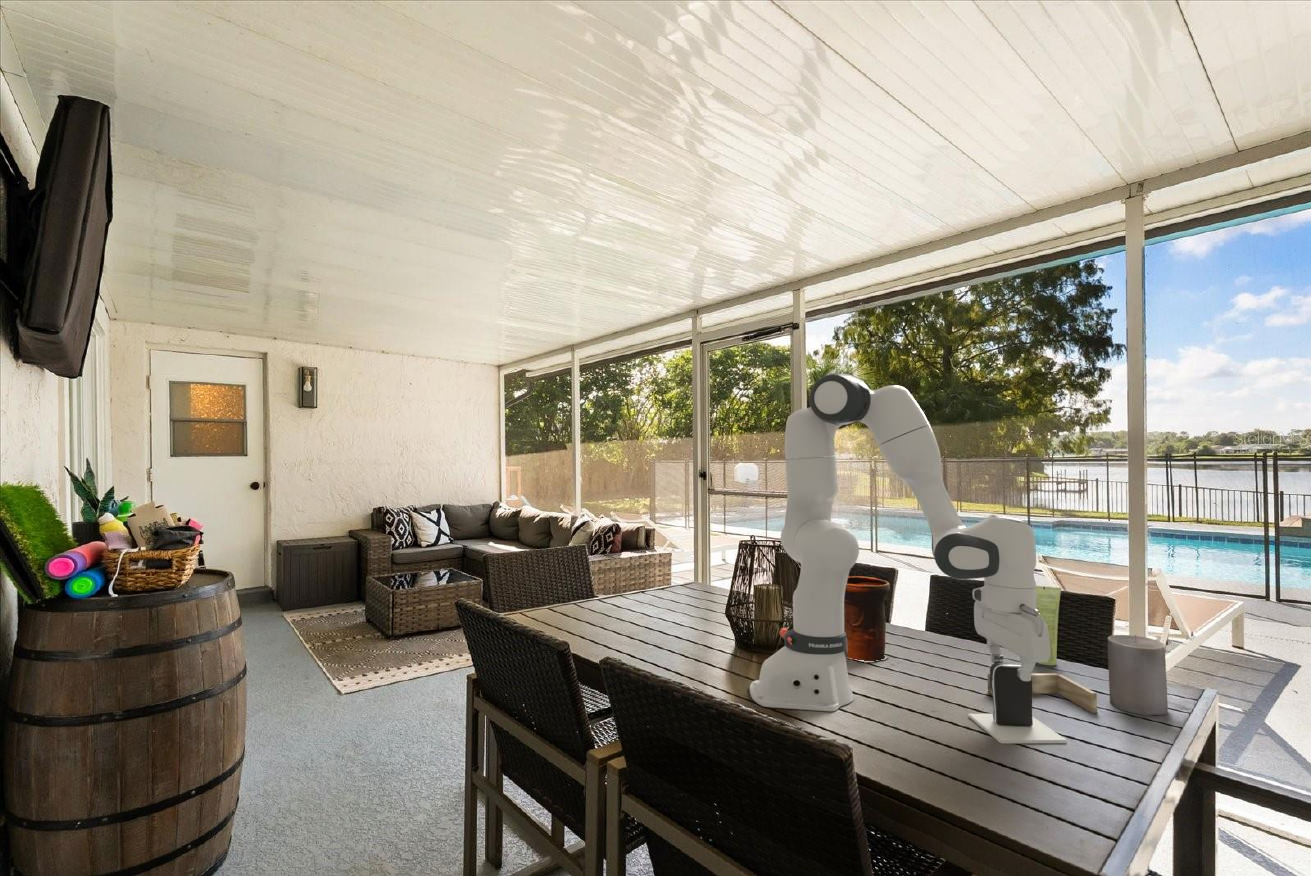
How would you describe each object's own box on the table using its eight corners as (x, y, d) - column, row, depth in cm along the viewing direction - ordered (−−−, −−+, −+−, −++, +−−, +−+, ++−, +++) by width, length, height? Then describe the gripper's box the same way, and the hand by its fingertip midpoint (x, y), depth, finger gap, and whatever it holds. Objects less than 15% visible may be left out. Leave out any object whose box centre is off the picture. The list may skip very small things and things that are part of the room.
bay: (1018, 713, 127) (1018, 693, 127) (987, 691, 139) (987, 673, 139) (1097, 713, 127) (1096, 693, 127) (1059, 691, 139) (1059, 673, 139)
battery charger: (1025, 719, 123) (1023, 660, 123) (1034, 727, 119) (1032, 667, 120) (988, 718, 124) (986, 660, 124) (996, 726, 120) (994, 666, 120)
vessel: (830, 645, 175) (830, 574, 176) (882, 648, 173) (883, 576, 174) (837, 662, 161) (838, 584, 162) (895, 665, 159) (895, 586, 160)
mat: (1000, 743, 114) (1000, 740, 114) (968, 716, 126) (968, 713, 126) (1066, 743, 114) (1066, 739, 114) (1027, 716, 126) (1027, 713, 126)
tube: (1047, 659, 162) (1044, 583, 163) (1063, 665, 157) (1061, 587, 158) (1028, 660, 161) (1026, 584, 161) (1045, 667, 156) (1042, 588, 156)
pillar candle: (1114, 694, 137) (1111, 626, 138) (1171, 706, 130) (1168, 634, 131) (1105, 707, 130) (1102, 635, 131) (1165, 721, 123) (1161, 644, 124)
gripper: (1060, 612, 111) (1060, 691, 110) (998, 589, 131) (998, 655, 131) (1024, 611, 111) (1024, 690, 110) (968, 588, 131) (968, 655, 131)
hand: (1009, 671), depth 121 cm, fingers open, 8 cm apart
